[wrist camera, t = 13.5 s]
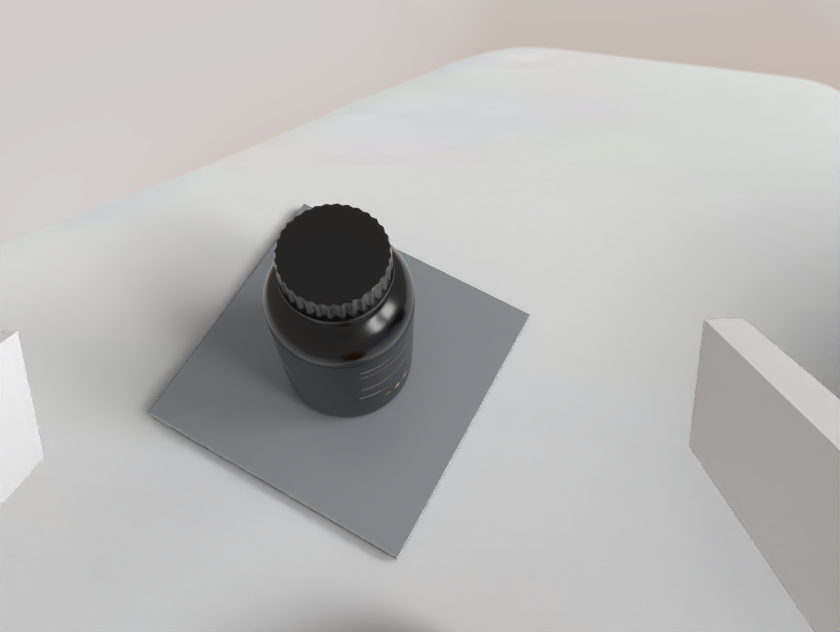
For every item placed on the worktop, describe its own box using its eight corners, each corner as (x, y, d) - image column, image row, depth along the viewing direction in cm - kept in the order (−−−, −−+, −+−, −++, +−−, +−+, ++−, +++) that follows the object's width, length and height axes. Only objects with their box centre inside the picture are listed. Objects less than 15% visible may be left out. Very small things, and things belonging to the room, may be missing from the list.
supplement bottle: (260, 371, 41) (209, 260, 30) (342, 283, 43) (323, 152, 33) (357, 448, 39) (341, 360, 29) (438, 353, 42) (451, 238, 31)
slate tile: (527, 320, 44) (529, 314, 43) (397, 559, 38) (397, 556, 37) (305, 211, 46) (304, 203, 46) (153, 416, 41) (148, 412, 40)
